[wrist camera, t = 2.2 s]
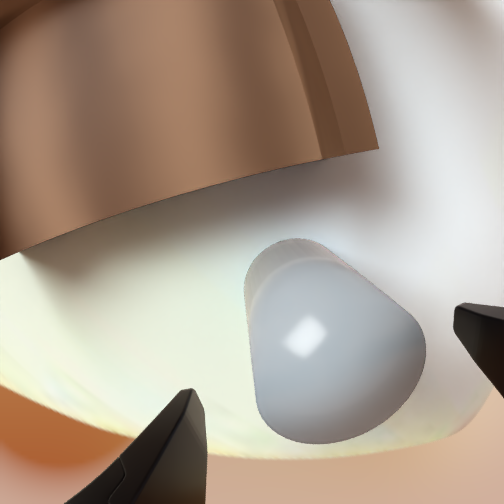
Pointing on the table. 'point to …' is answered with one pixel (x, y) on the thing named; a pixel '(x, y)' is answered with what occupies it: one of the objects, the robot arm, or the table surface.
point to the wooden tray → (162, 103)
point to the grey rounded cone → (326, 345)
